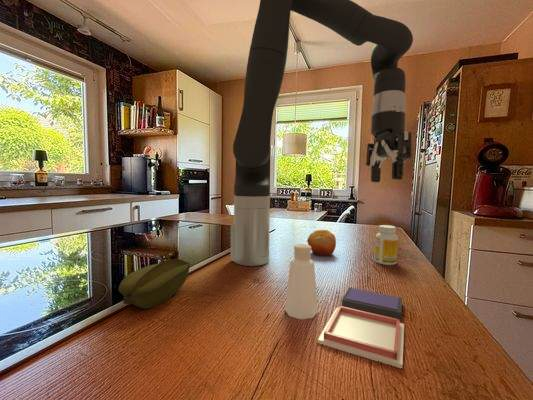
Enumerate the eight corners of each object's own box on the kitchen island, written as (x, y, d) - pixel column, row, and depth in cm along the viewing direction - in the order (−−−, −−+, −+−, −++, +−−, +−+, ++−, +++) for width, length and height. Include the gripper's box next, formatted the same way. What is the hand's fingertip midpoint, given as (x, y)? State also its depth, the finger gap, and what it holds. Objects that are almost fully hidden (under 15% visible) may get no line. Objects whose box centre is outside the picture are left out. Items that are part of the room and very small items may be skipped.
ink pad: (341, 306, 46) (342, 298, 46) (348, 293, 51) (349, 286, 51) (400, 320, 42) (401, 311, 42) (401, 304, 47) (402, 296, 47)
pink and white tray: (317, 343, 36) (318, 333, 36) (336, 310, 45) (336, 303, 44) (402, 368, 31) (402, 358, 31) (404, 327, 40) (404, 318, 40)
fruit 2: (337, 245, 82) (337, 225, 78) (335, 265, 76) (334, 245, 72) (311, 243, 85) (309, 223, 81) (306, 262, 79) (304, 242, 75)
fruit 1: (124, 291, 51) (123, 257, 51) (189, 282, 56) (189, 251, 55) (117, 321, 41) (116, 278, 40) (198, 307, 45) (198, 268, 45)
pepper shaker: (285, 302, 47) (286, 240, 46) (317, 305, 47) (318, 242, 46) (283, 318, 42) (284, 249, 41) (318, 321, 41) (320, 250, 40)
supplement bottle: (370, 261, 72) (372, 225, 71) (380, 257, 75) (382, 223, 74) (390, 266, 67) (392, 229, 67) (400, 262, 71) (402, 226, 70)
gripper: (358, 121, 72) (356, 182, 72) (392, 102, 58) (389, 177, 58) (384, 124, 73) (382, 183, 73) (423, 105, 59) (420, 179, 59)
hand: (385, 180), depth 65 cm, fingers open, 8 cm apart
